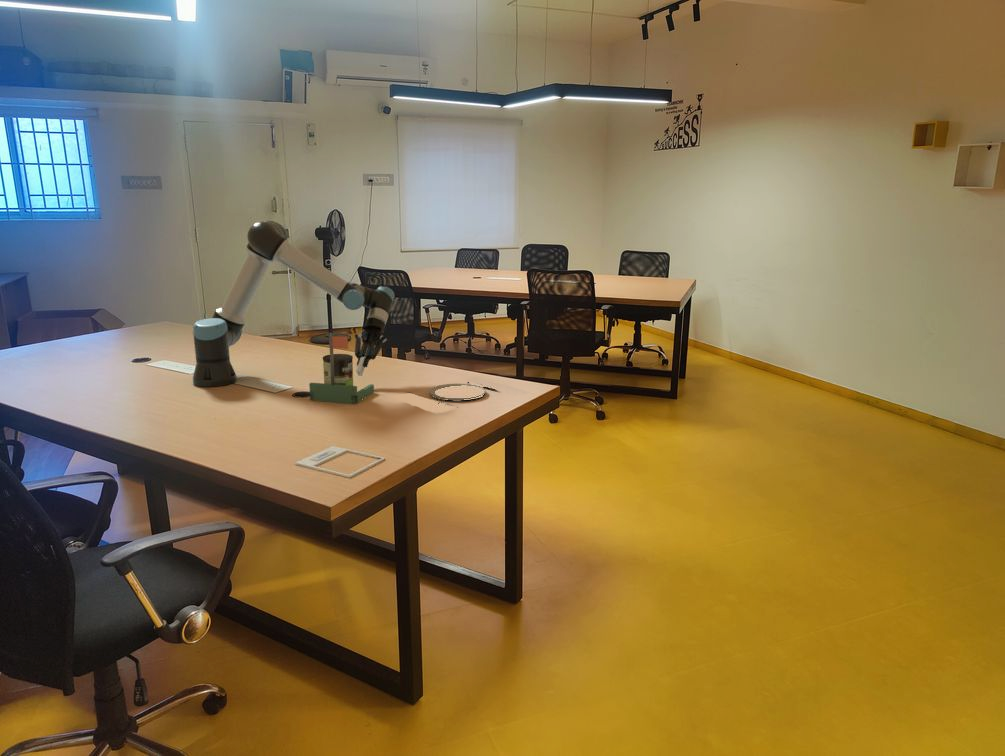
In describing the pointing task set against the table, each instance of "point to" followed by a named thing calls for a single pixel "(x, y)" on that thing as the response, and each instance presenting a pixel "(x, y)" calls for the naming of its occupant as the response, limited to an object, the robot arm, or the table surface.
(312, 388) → the green frame
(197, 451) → the table surface
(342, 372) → the coffee can
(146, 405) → the table surface
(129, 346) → the table surface
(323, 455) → the photo frame
